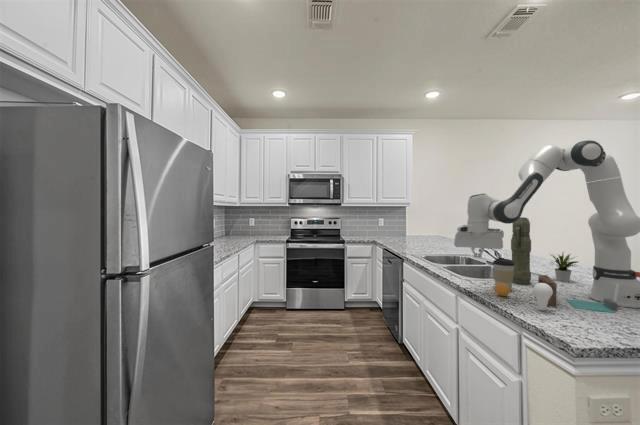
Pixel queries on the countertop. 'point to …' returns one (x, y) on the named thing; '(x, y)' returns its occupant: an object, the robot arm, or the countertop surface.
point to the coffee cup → (503, 271)
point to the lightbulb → (542, 294)
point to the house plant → (563, 268)
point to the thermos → (521, 251)
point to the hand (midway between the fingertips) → (477, 257)
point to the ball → (502, 289)
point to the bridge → (553, 285)
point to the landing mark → (589, 305)
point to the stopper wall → (610, 304)
